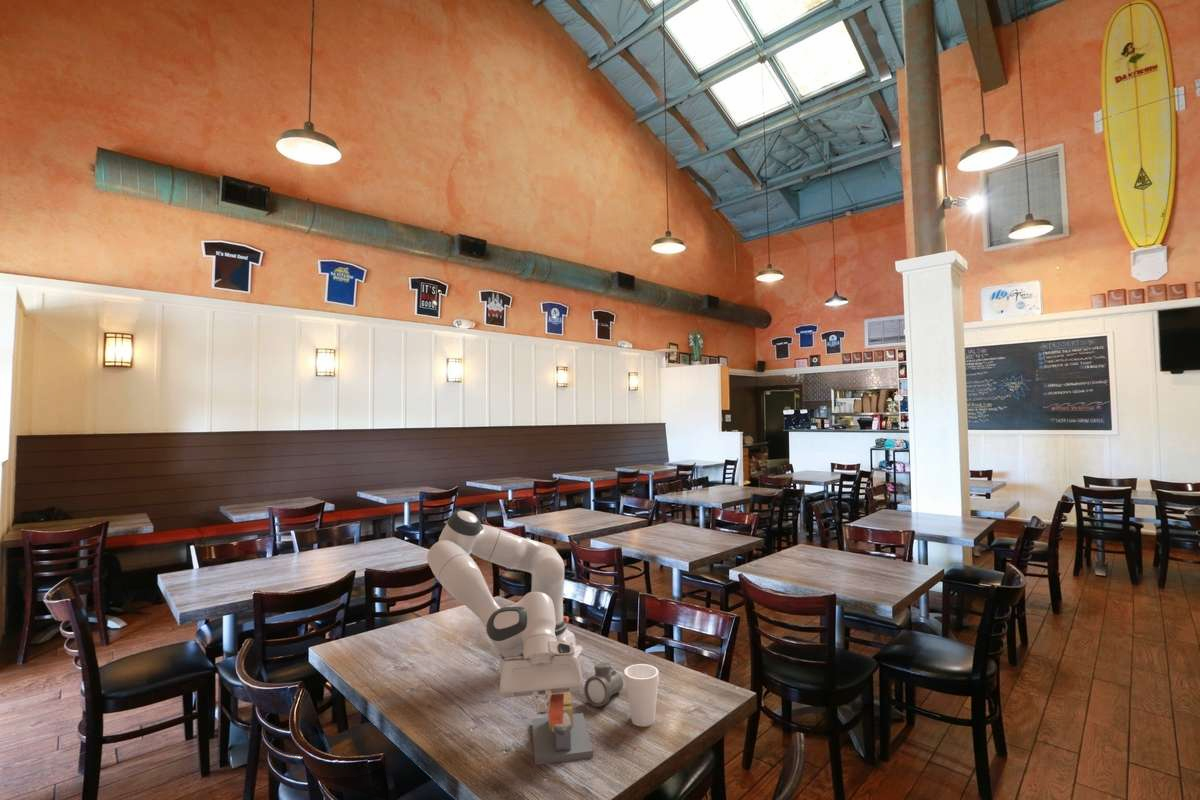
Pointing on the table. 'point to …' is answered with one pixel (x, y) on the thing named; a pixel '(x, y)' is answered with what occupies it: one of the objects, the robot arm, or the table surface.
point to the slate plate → (546, 741)
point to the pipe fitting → (602, 684)
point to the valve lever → (556, 708)
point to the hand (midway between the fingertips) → (542, 713)
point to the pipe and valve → (563, 725)
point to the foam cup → (642, 693)
